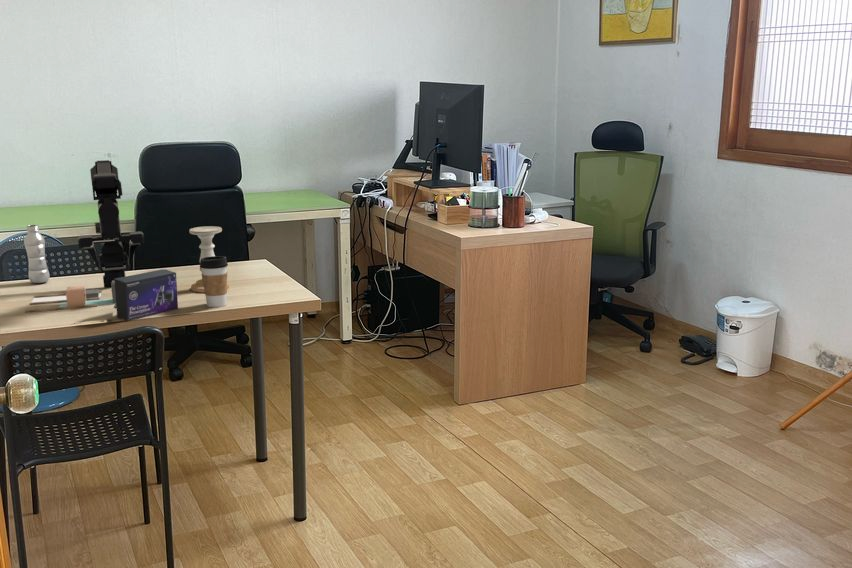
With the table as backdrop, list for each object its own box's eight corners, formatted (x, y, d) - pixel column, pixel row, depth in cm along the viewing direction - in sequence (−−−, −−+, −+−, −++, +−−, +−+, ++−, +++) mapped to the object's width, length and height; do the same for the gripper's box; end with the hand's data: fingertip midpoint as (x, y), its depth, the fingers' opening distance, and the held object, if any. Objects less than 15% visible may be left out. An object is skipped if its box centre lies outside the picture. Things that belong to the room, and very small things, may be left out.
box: (128, 322, 240) (124, 281, 237) (116, 317, 244) (112, 278, 241) (179, 309, 252) (176, 271, 249) (167, 305, 257) (163, 268, 254)
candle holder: (236, 287, 277) (232, 228, 272) (205, 295, 268) (200, 233, 263) (214, 282, 285) (210, 224, 280) (183, 289, 276) (178, 229, 271)
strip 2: (129, 300, 262) (127, 278, 261) (128, 305, 256) (126, 283, 254) (61, 305, 257) (58, 283, 255) (58, 311, 250) (55, 289, 249)
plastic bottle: (42, 285, 284) (35, 227, 279) (25, 284, 285) (17, 227, 280) (54, 280, 290) (47, 224, 285) (37, 280, 291) (30, 223, 286)
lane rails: (102, 295, 270) (101, 290, 269) (97, 310, 252) (96, 305, 251) (35, 300, 264) (34, 295, 264) (25, 316, 246) (24, 311, 246)
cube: (86, 301, 258) (84, 285, 256) (85, 305, 253) (83, 289, 252) (69, 302, 256) (67, 287, 255) (67, 306, 252) (65, 290, 250)
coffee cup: (216, 309, 251) (212, 261, 247) (196, 306, 255) (193, 258, 252) (236, 303, 258) (233, 256, 254) (217, 299, 262) (213, 253, 259)
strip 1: (101, 295, 268) (100, 288, 268) (100, 301, 262) (99, 293, 261) (34, 301, 263) (33, 293, 262) (30, 306, 256) (29, 298, 256)
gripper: (140, 210, 262) (144, 259, 266) (76, 215, 256) (82, 264, 260) (142, 216, 252) (146, 266, 256) (75, 220, 246) (81, 271, 250)
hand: (114, 266), depth 256 cm, fingers open, 9 cm apart
